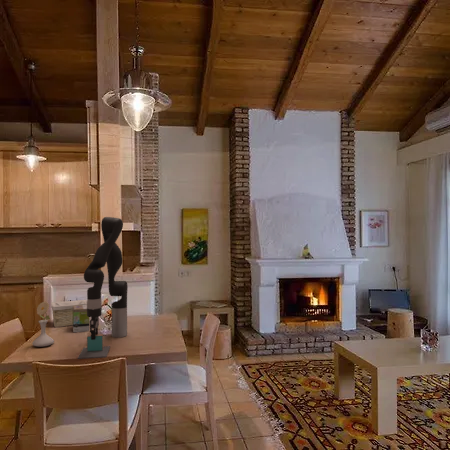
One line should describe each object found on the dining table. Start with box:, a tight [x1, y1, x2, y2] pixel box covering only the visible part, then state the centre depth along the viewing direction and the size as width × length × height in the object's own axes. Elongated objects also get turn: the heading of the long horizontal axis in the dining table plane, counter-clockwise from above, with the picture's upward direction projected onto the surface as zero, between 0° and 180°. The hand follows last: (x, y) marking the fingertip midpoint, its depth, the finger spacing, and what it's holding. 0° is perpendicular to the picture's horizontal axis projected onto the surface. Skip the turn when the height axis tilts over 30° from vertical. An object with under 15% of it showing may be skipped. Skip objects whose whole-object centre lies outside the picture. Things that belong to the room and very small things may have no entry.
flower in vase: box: [31, 301, 55, 348], centre depth 231 cm, size 13×11×25 cm
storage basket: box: [50, 299, 87, 328], centre depth 284 cm, size 24×16×15 cm
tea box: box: [72, 305, 90, 333], centre depth 268 cm, size 15×10×15 cm, turn 22°
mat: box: [77, 345, 111, 360], centre depth 218 cm, size 18×14×1 cm
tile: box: [86, 334, 104, 351], centre depth 220 cm, size 2×8×8 cm, turn 100°
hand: (94, 337), depth 220 cm, fingers open, 8 cm apart
